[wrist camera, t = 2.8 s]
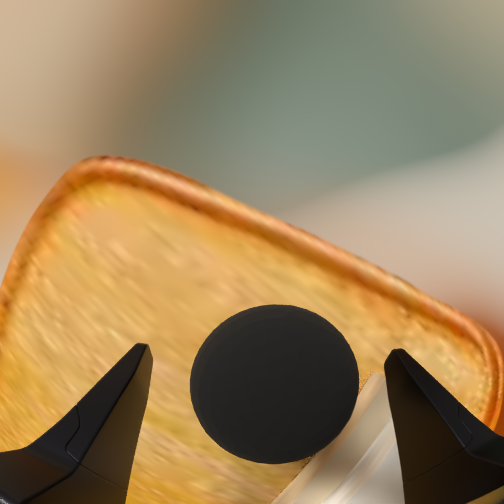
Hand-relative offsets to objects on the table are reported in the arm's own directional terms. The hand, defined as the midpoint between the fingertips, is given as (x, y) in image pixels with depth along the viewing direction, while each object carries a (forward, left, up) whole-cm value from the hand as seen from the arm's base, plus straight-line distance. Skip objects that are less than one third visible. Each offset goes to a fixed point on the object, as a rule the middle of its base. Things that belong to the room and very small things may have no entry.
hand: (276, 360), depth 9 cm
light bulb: (-1, -1, -7) cm, 7 cm away
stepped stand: (-5, -14, -7) cm, 17 cm away
